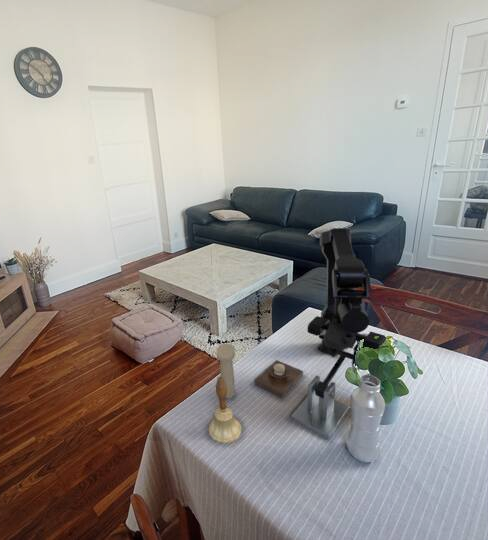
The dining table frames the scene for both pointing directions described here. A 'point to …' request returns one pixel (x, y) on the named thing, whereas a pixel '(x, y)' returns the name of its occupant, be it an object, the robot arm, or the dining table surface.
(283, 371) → the button
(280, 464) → the dining table surface
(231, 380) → the handle
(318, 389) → the lever
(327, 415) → the bracket
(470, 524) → the dining table surface
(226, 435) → the hand bell
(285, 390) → the button block
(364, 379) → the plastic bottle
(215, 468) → the dining table surface
